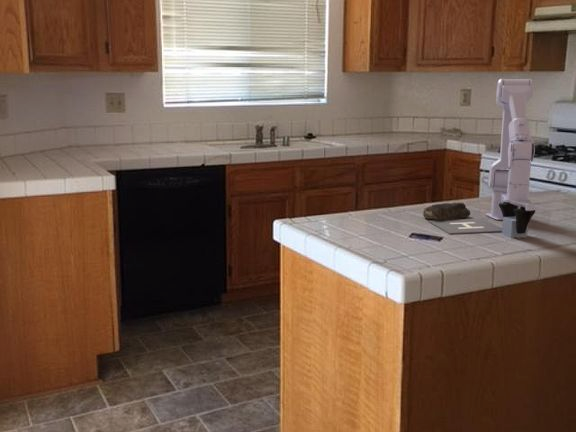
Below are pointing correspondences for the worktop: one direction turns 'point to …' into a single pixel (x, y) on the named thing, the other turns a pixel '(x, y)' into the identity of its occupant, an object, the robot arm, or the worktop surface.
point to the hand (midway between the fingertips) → (514, 230)
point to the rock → (446, 211)
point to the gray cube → (511, 228)
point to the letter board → (466, 226)
